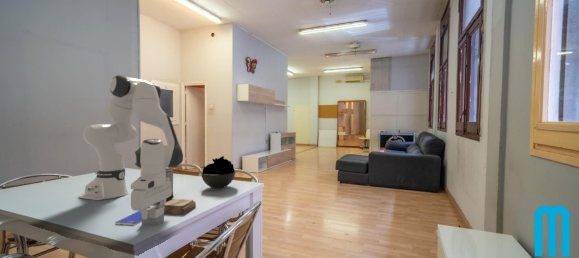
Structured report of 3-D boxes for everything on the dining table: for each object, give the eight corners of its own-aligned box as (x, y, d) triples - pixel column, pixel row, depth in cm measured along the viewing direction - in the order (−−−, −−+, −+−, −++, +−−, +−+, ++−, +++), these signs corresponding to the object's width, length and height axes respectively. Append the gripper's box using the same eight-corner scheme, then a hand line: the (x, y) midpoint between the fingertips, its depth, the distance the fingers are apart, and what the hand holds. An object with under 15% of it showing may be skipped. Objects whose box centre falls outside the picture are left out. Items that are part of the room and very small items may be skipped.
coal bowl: (217, 194, 140) (217, 161, 140) (194, 189, 150) (194, 158, 150) (242, 186, 157) (242, 156, 157) (219, 182, 168) (219, 154, 167)
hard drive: (134, 222, 98) (155, 211, 110) (115, 221, 99) (138, 210, 111) (134, 226, 98) (155, 215, 110) (115, 225, 99) (138, 214, 111)
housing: (141, 224, 99) (141, 209, 99) (150, 220, 104) (150, 204, 103) (155, 225, 98) (155, 209, 98) (163, 220, 103) (163, 205, 103)
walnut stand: (158, 213, 111) (158, 205, 111) (172, 205, 121) (172, 198, 121) (184, 214, 110) (184, 206, 110) (195, 206, 120) (195, 199, 120)
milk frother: (164, 194, 140) (164, 168, 139) (187, 197, 134) (187, 170, 134) (141, 202, 126) (141, 172, 126) (166, 206, 121) (166, 175, 120)
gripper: (162, 174, 111) (162, 205, 111) (127, 185, 91) (127, 223, 91) (175, 174, 110) (176, 205, 111) (143, 186, 90) (143, 224, 90)
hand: (153, 214), depth 101 cm, fingers open, 8 cm apart
